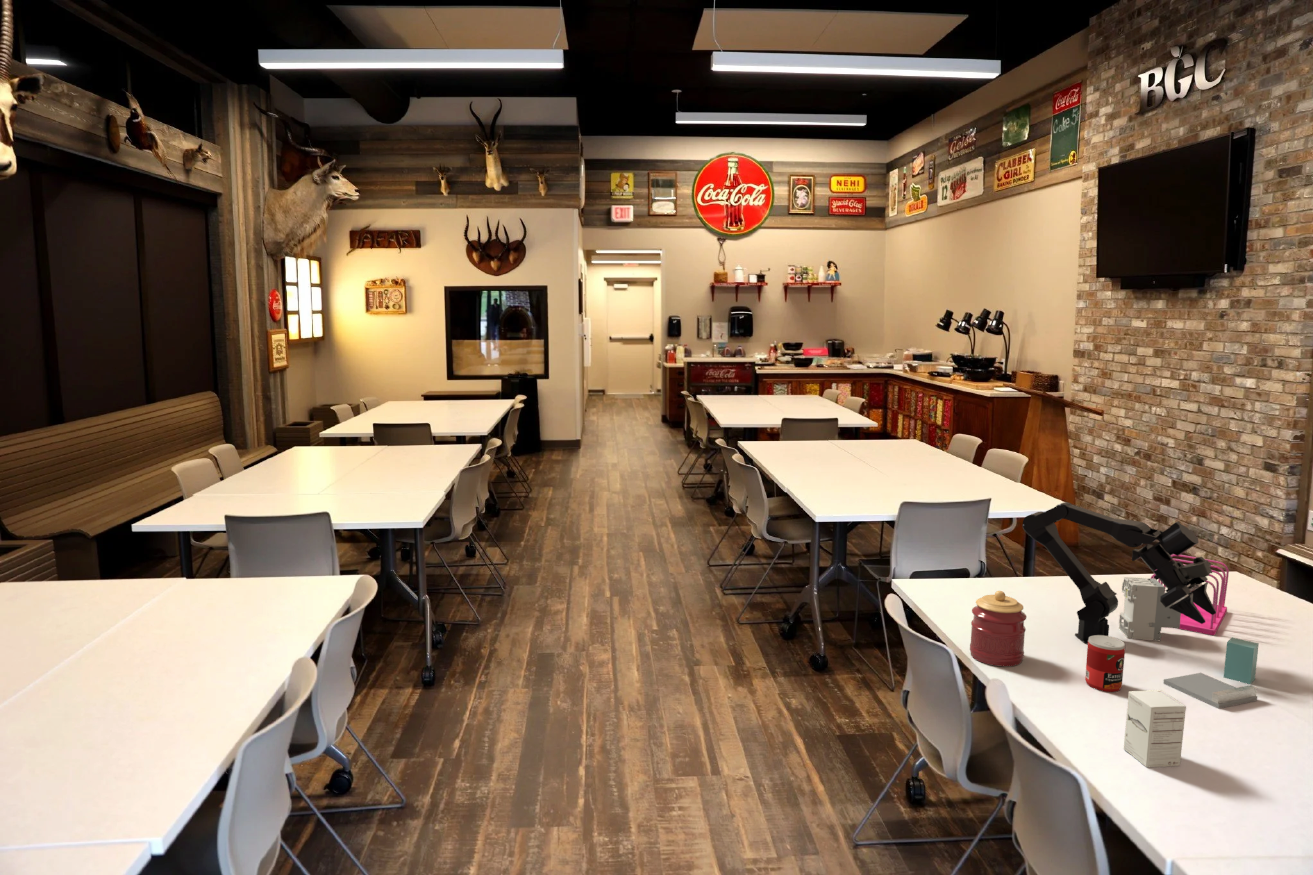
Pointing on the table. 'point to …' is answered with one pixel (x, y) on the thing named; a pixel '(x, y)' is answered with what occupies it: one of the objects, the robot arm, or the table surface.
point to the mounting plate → (1212, 690)
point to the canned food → (1105, 663)
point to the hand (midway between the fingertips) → (1209, 618)
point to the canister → (998, 630)
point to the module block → (1241, 660)
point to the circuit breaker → (1145, 610)
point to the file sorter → (1216, 619)
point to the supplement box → (1154, 728)
